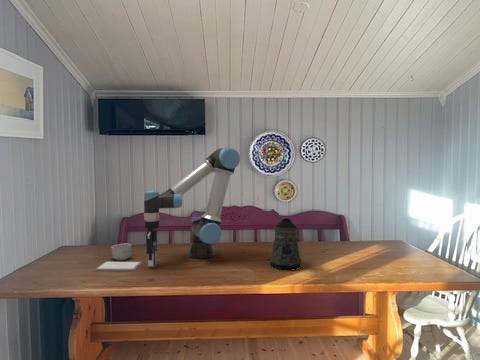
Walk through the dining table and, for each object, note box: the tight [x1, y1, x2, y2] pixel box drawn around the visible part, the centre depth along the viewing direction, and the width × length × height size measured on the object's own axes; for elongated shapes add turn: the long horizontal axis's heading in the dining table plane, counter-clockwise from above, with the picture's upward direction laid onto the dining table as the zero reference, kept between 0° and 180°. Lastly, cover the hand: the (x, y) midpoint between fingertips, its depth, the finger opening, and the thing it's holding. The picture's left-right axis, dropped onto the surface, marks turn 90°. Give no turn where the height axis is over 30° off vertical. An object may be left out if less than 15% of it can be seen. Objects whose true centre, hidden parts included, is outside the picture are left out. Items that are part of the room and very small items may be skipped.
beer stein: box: [269, 218, 302, 271], centre depth 186 cm, size 16×19×25 cm
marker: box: [148, 241, 157, 269], centre depth 184 cm, size 4×4×13 cm
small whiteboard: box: [94, 261, 143, 272], centre depth 183 cm, size 20×14×1 cm
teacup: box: [110, 242, 132, 261], centre depth 200 cm, size 14×11×8 cm
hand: (152, 264), depth 184 cm, fingers open, 4 cm apart
